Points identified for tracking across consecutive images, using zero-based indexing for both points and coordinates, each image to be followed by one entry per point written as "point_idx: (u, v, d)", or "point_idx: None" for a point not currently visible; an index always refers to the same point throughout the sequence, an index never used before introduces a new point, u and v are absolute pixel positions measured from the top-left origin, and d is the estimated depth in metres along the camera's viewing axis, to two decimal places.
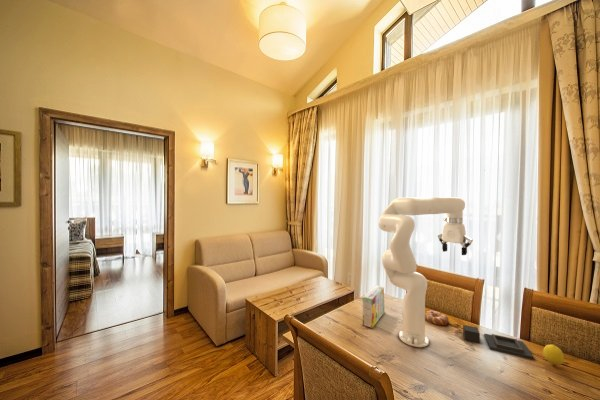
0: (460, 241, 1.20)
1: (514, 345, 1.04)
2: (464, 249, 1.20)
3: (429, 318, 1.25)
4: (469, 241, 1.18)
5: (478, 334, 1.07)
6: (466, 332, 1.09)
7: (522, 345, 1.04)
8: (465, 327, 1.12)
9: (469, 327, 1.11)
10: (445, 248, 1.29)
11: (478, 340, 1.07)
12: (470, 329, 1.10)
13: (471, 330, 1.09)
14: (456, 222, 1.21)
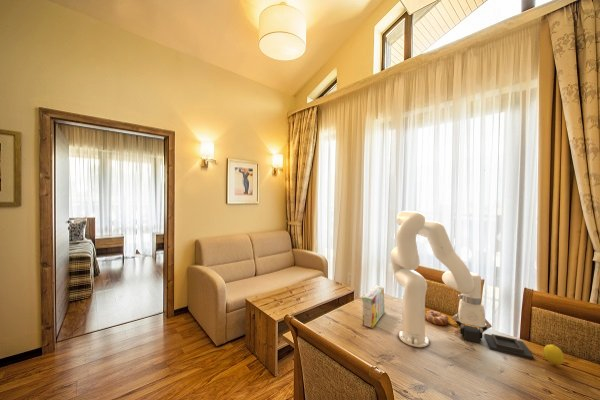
0: (484, 325, 1.06)
1: (514, 345, 1.04)
2: (481, 334, 1.08)
3: (429, 318, 1.25)
4: (488, 326, 1.07)
5: (478, 334, 1.07)
6: (466, 332, 1.09)
7: (522, 345, 1.04)
8: (465, 327, 1.12)
9: (469, 327, 1.11)
10: None
11: (478, 340, 1.07)
12: (470, 329, 1.10)
13: (471, 330, 1.09)
14: (479, 303, 1.07)
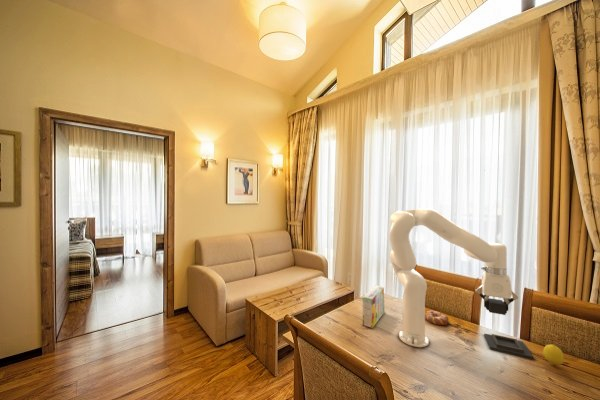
0: (510, 296, 1.02)
1: (514, 345, 1.04)
2: (507, 306, 1.04)
3: (429, 318, 1.25)
4: (515, 298, 1.03)
5: (504, 306, 1.03)
6: (491, 304, 1.05)
7: (522, 345, 1.04)
8: (489, 300, 1.08)
9: (493, 300, 1.07)
10: None
11: (504, 312, 1.03)
12: (495, 301, 1.06)
13: (496, 302, 1.05)
14: (505, 274, 1.03)
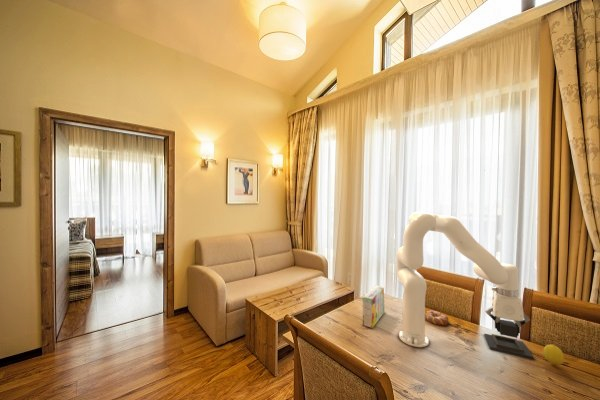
0: (522, 319, 1.00)
1: (514, 345, 1.04)
2: (518, 328, 1.02)
3: (429, 318, 1.25)
4: (526, 320, 1.01)
5: (516, 328, 1.01)
6: (502, 326, 1.03)
7: (522, 345, 1.04)
8: (500, 321, 1.06)
9: (504, 322, 1.05)
10: None
11: (516, 335, 1.01)
12: (506, 323, 1.04)
13: (507, 324, 1.03)
14: (516, 296, 1.01)
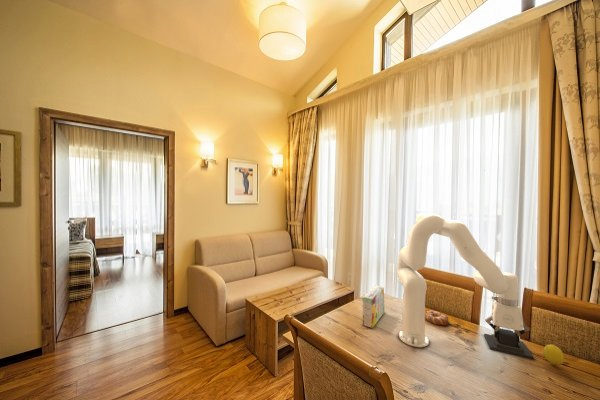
0: (522, 328, 1.00)
1: None
2: (518, 338, 1.02)
3: (429, 318, 1.25)
4: (526, 330, 1.01)
5: (515, 338, 1.01)
6: (502, 335, 1.03)
7: (522, 345, 1.04)
8: (500, 330, 1.06)
9: (504, 331, 1.05)
10: None
11: (515, 344, 1.01)
12: (506, 332, 1.04)
13: (507, 333, 1.03)
14: (516, 305, 1.01)
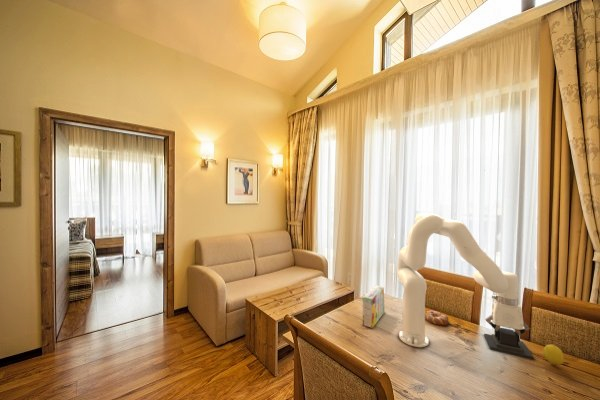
0: (522, 327, 1.00)
1: None
2: (518, 337, 1.02)
3: (429, 318, 1.25)
4: (526, 329, 1.01)
5: (515, 337, 1.01)
6: (502, 335, 1.03)
7: (522, 345, 1.04)
8: (500, 329, 1.06)
9: (504, 330, 1.05)
10: None
11: (515, 343, 1.01)
12: (506, 331, 1.04)
13: (507, 333, 1.03)
14: (516, 304, 1.01)
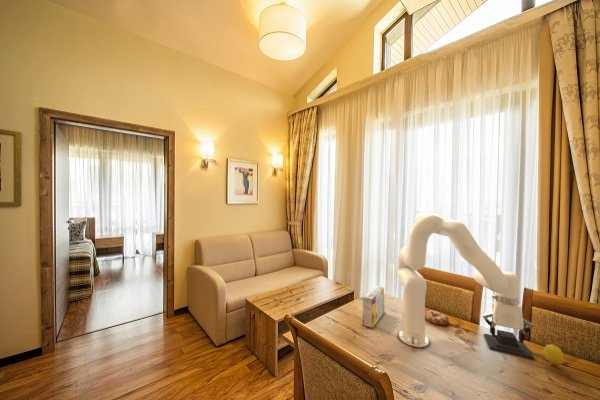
0: (522, 327, 1.00)
1: None
2: (523, 335, 1.01)
3: (429, 318, 1.25)
4: (530, 326, 1.00)
5: (515, 340, 1.01)
6: (502, 338, 1.03)
7: (522, 345, 1.04)
8: (500, 332, 1.06)
9: (504, 333, 1.05)
10: None
11: (515, 346, 1.01)
12: (506, 334, 1.04)
13: (507, 336, 1.03)
14: (516, 304, 1.01)
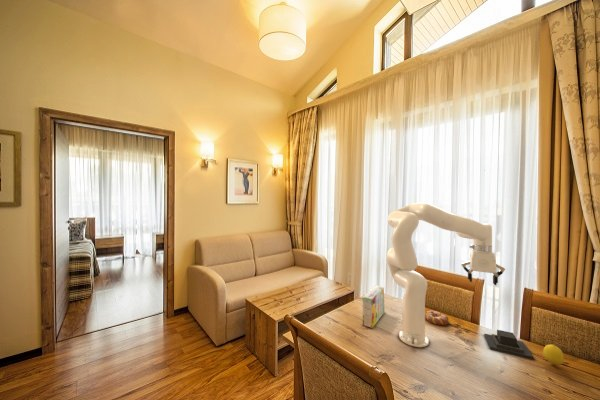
0: (495, 271, 1.12)
1: None
2: (496, 278, 1.13)
3: (429, 318, 1.25)
4: (502, 270, 1.13)
5: (515, 340, 1.01)
6: (502, 338, 1.03)
7: (522, 345, 1.04)
8: (500, 332, 1.06)
9: (504, 333, 1.05)
10: None
11: (515, 346, 1.01)
12: (506, 334, 1.04)
13: (507, 336, 1.03)
14: (490, 250, 1.13)
